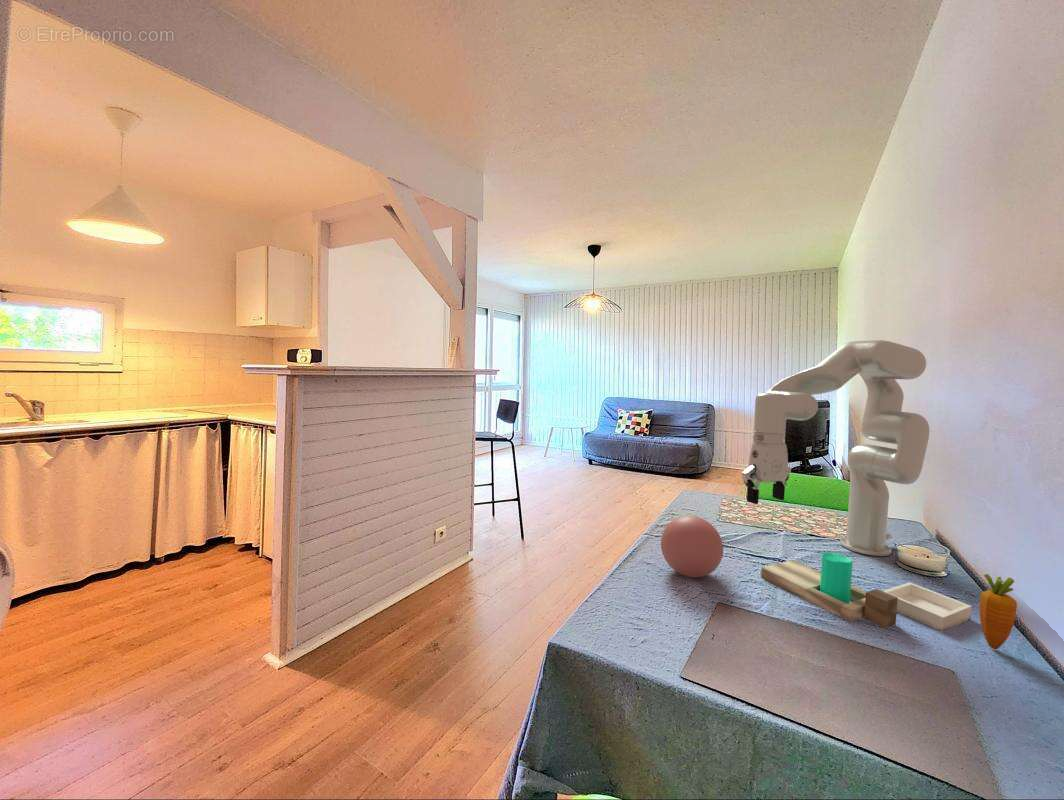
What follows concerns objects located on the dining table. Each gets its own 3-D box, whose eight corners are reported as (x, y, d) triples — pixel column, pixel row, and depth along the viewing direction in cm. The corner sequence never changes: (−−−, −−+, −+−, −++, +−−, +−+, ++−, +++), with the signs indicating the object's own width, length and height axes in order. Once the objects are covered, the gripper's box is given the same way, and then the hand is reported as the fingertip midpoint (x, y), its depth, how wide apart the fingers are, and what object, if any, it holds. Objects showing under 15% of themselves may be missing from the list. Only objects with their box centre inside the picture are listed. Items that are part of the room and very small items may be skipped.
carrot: (968, 641, 90) (975, 569, 89) (991, 640, 90) (998, 569, 89) (996, 658, 85) (1003, 582, 84) (1019, 656, 85) (1027, 581, 84)
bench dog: (874, 614, 99) (876, 588, 99) (895, 624, 96) (897, 597, 95) (863, 618, 98) (865, 592, 97) (884, 628, 94) (886, 601, 94)
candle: (854, 608, 102) (858, 557, 101) (824, 605, 103) (828, 554, 102) (843, 595, 108) (846, 547, 107) (815, 592, 109) (818, 544, 108)
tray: (908, 594, 109) (909, 582, 108) (970, 619, 98) (971, 606, 98) (880, 603, 104) (881, 591, 104) (941, 631, 93) (943, 617, 93)
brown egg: (740, 570, 120) (743, 515, 119) (702, 595, 107) (705, 532, 106) (688, 552, 131) (690, 501, 130) (648, 572, 118) (650, 515, 117)
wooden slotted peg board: (792, 568, 121) (792, 559, 121) (882, 609, 101) (883, 599, 101) (761, 576, 117) (761, 567, 116) (849, 621, 97) (850, 610, 96)
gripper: (757, 442, 114) (753, 508, 115) (804, 439, 120) (800, 501, 122) (733, 438, 120) (730, 500, 122) (779, 434, 127) (775, 493, 129)
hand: (765, 500), depth 122 cm, fingers open, 9 cm apart
